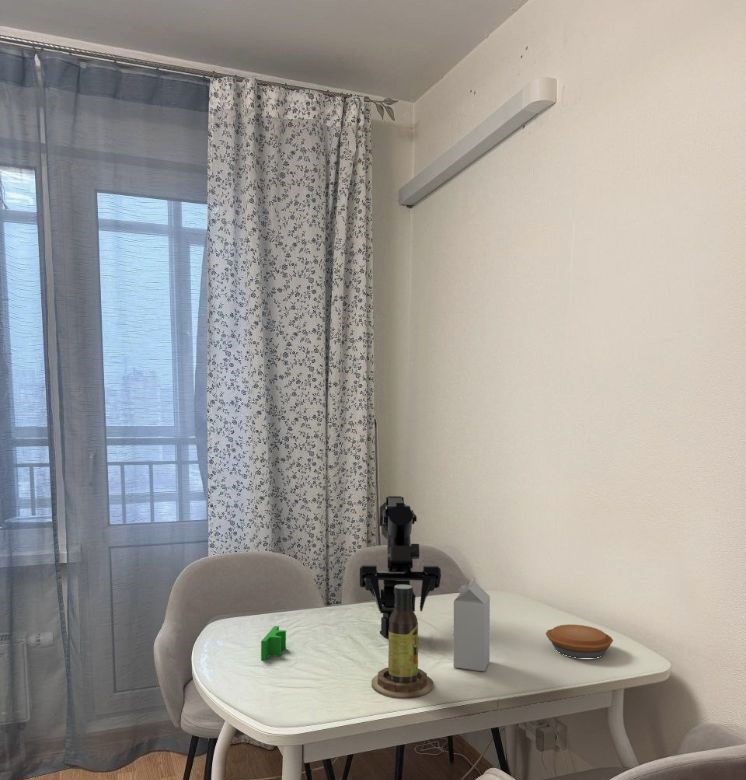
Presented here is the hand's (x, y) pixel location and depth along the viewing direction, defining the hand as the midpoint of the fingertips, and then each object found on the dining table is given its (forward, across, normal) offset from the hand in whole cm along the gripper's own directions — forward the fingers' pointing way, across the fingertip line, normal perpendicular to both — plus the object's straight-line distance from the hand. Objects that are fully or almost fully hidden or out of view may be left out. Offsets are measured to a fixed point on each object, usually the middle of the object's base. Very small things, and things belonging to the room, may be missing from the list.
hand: (400, 610), depth 146 cm
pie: (0, +44, +19) cm, 48 cm away
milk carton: (+7, +17, +12) cm, 22 cm away
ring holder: (+15, 0, +4) cm, 15 cm away
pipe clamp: (+2, -30, +18) cm, 34 cm away
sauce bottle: (+14, 0, +4) cm, 15 cm away
